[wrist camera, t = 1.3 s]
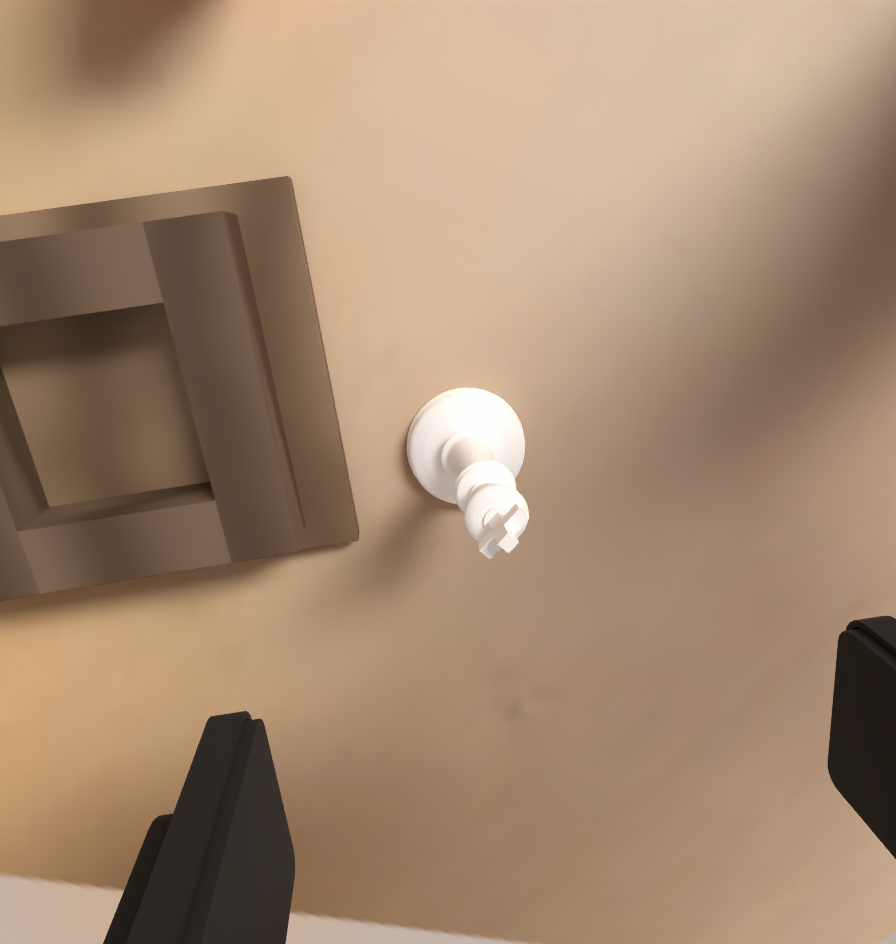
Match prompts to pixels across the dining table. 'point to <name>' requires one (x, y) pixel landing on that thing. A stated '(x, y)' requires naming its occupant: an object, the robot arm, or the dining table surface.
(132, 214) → the socket board
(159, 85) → the dining table surface
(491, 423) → the chess piece
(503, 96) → the dining table surface
